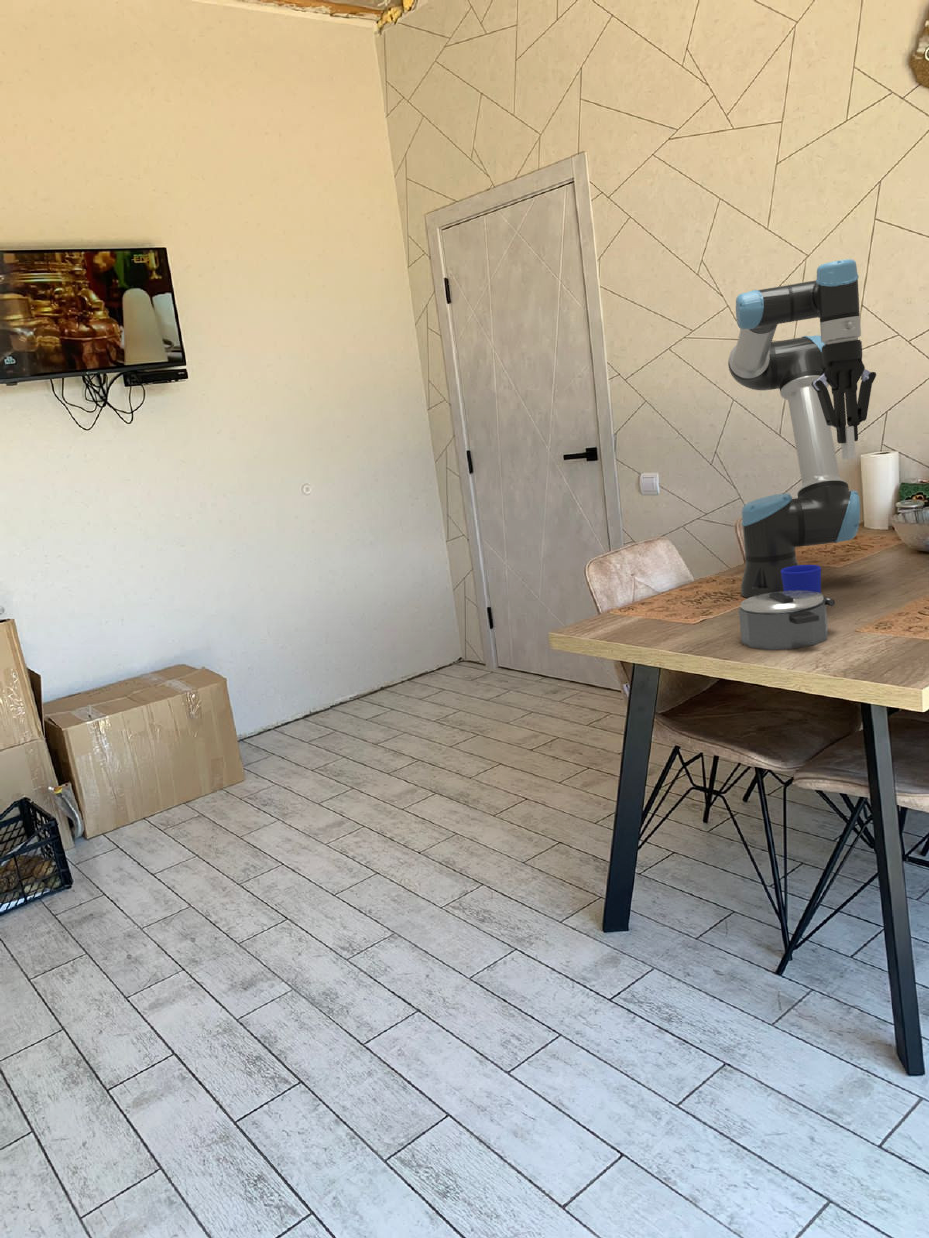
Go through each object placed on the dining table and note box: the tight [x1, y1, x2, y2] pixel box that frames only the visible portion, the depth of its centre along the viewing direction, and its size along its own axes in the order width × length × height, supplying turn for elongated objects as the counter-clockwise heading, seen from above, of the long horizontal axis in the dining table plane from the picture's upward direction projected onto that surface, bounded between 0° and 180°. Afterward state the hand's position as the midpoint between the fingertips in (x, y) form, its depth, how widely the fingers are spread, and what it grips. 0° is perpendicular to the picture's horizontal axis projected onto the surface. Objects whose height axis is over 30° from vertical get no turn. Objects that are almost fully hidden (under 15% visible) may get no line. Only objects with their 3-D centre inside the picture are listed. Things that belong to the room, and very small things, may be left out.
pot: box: [738, 595, 836, 651], centre depth 186 cm, size 22×18×7 cm
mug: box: [781, 564, 822, 594], centre depth 205 cm, size 8×12×10 cm
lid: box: [740, 591, 824, 614], centre depth 185 cm, size 16×16×2 cm
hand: (848, 458), depth 194 cm, fingers closed
